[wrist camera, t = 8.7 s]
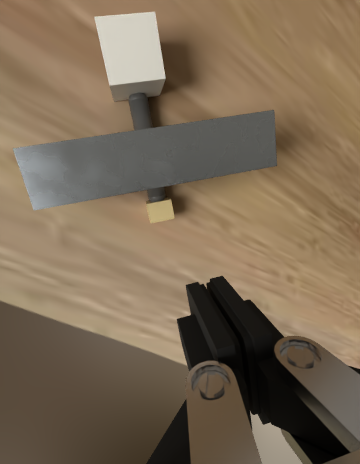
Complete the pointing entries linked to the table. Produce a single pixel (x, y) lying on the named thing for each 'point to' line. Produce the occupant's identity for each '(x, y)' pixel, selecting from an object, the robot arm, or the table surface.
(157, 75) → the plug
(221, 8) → the table surface
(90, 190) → the block
